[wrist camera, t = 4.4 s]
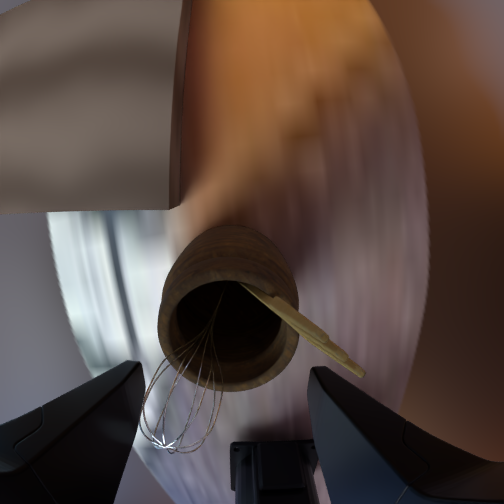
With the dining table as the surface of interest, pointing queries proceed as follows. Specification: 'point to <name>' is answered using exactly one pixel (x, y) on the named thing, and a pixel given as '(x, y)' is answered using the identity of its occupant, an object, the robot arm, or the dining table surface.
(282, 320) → the utensil holder
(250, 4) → the dining table surface
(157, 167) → the walnut plinth
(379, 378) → the dining table surface
